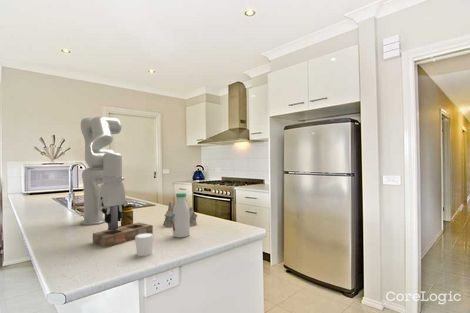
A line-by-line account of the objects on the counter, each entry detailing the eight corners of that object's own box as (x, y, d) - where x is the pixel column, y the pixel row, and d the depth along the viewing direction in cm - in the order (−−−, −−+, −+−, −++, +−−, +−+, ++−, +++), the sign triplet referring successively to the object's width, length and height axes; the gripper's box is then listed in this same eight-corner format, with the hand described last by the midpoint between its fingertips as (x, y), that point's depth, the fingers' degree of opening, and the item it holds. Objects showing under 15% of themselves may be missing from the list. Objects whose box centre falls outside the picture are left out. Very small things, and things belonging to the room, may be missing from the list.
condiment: (135, 227, 136) (135, 205, 136) (117, 230, 131) (117, 206, 131) (132, 224, 142) (132, 203, 142) (115, 227, 137) (115, 204, 137)
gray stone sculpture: (159, 224, 142) (161, 197, 142) (184, 220, 153) (186, 195, 153) (174, 231, 131) (176, 202, 130) (200, 226, 142) (202, 200, 142)
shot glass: (138, 250, 102) (138, 232, 102) (155, 249, 102) (155, 232, 102) (132, 257, 95) (132, 238, 95) (151, 256, 96) (151, 237, 96)
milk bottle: (192, 233, 124) (192, 192, 124) (184, 238, 116) (184, 194, 117) (178, 232, 126) (178, 191, 126) (169, 237, 119) (169, 194, 119)
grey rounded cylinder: (106, 229, 113) (105, 202, 113) (114, 227, 116) (114, 200, 116) (111, 230, 111) (111, 202, 111) (120, 228, 114) (119, 201, 114)
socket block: (92, 242, 112) (92, 233, 112) (138, 230, 131) (138, 222, 131) (106, 247, 105) (106, 237, 105) (153, 233, 124) (153, 225, 124)
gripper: (125, 179, 123) (125, 217, 123) (89, 181, 109) (89, 224, 109) (134, 179, 119) (134, 219, 118) (98, 182, 105) (98, 227, 105)
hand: (113, 221), depth 114 cm, fingers closed on grey rounded cylinder, 4 cm apart
